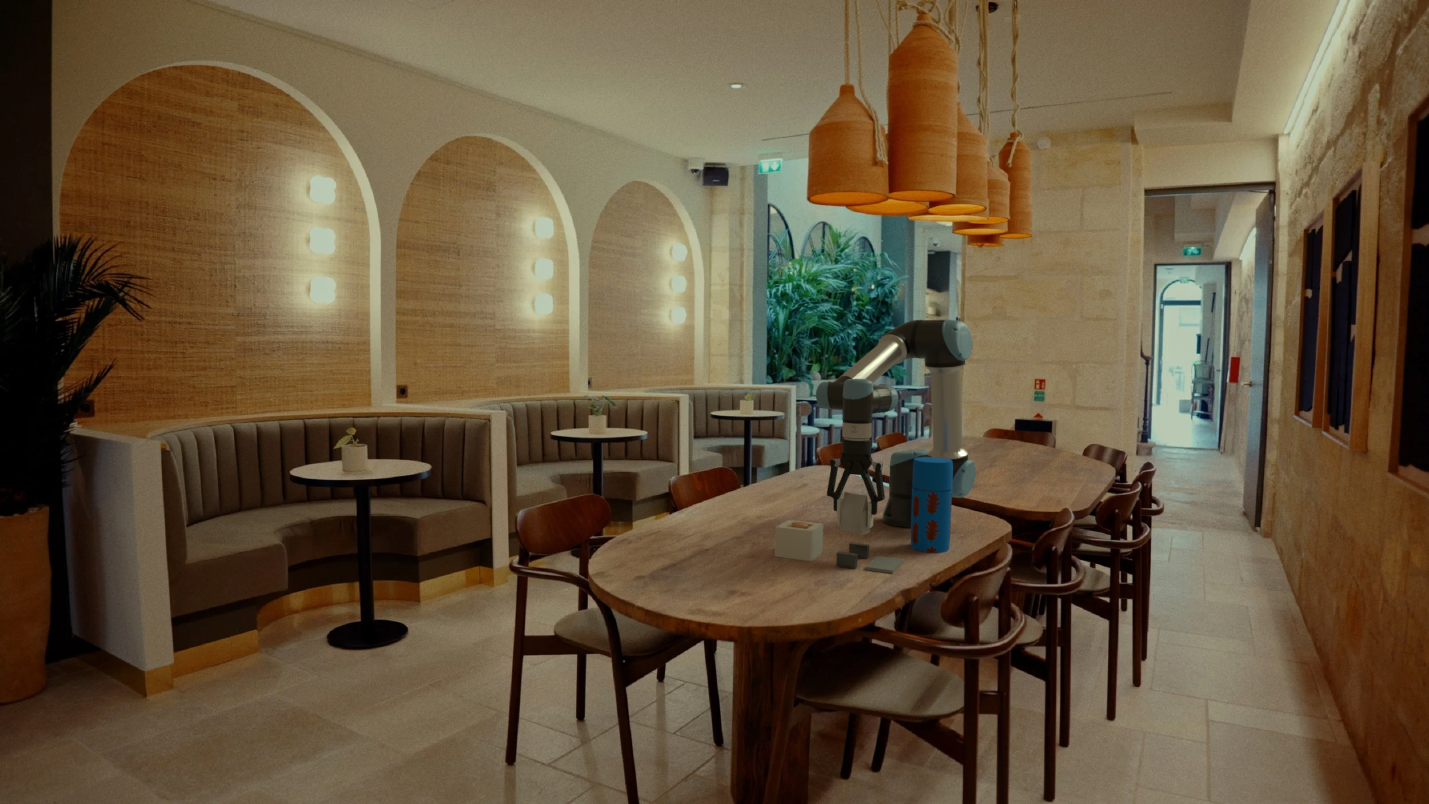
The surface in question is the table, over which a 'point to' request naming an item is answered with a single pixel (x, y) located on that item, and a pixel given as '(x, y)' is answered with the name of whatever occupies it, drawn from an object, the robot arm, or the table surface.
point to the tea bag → (854, 514)
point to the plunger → (800, 525)
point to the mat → (885, 564)
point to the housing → (799, 541)
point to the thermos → (931, 504)
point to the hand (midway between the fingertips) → (854, 525)
